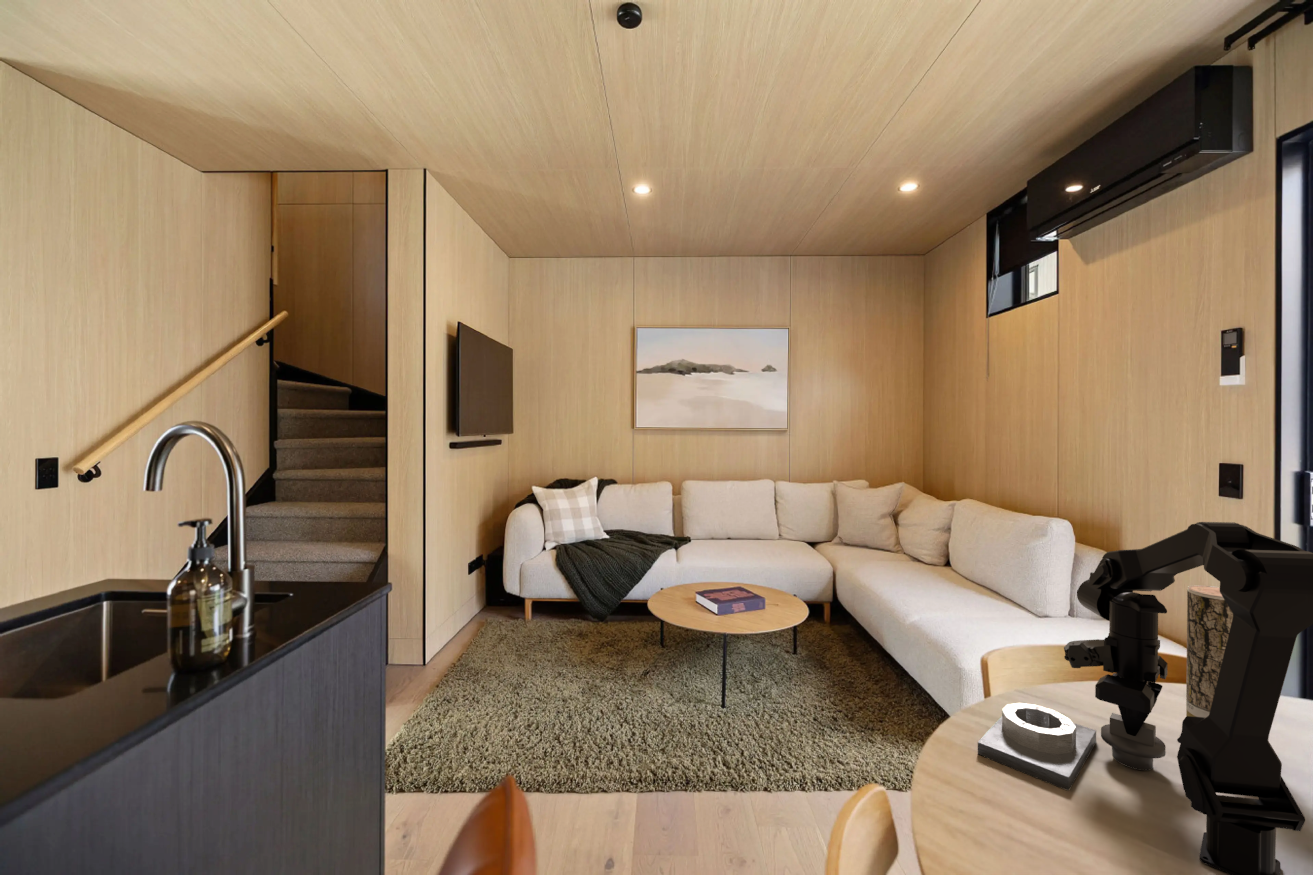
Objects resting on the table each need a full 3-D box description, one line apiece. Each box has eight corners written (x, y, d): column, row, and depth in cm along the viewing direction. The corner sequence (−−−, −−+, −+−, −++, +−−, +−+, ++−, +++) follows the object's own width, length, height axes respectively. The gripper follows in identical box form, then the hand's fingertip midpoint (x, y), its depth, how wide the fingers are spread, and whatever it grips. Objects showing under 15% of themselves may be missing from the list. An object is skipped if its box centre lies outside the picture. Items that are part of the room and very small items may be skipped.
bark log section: (1195, 745, 90) (1196, 594, 90) (1179, 724, 96) (1180, 583, 96) (1252, 756, 87) (1254, 599, 86) (1232, 734, 93) (1234, 588, 92)
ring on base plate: (1068, 790, 79) (1068, 756, 79) (977, 754, 88) (977, 723, 88) (1096, 741, 91) (1096, 712, 91) (1013, 714, 100) (1013, 687, 100)
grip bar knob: (1161, 782, 80) (1161, 741, 80) (1096, 759, 86) (1096, 720, 86) (1168, 761, 85) (1168, 721, 85) (1106, 740, 91) (1106, 703, 91)
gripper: (1082, 606, 97) (1082, 693, 98) (1054, 634, 85) (1054, 733, 85) (1168, 622, 89) (1167, 717, 89) (1150, 656, 77) (1149, 766, 77)
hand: (1132, 731), depth 86 cm, fingers closed on grip bar knob
